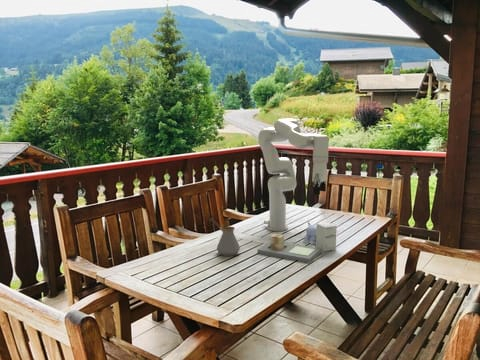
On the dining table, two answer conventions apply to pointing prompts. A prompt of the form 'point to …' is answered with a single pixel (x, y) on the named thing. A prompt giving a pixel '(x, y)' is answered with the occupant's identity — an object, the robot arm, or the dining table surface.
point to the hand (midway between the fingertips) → (319, 192)
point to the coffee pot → (227, 241)
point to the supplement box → (326, 236)
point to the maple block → (277, 242)
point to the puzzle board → (291, 252)
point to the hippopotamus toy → (311, 234)
